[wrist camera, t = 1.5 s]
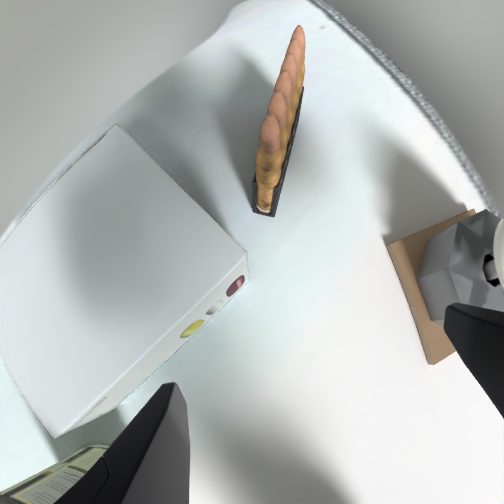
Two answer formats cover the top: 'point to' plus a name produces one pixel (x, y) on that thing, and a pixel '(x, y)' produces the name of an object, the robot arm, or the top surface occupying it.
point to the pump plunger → (496, 256)
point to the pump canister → (447, 274)
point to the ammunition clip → (279, 128)
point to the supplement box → (108, 282)
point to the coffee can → (54, 478)
